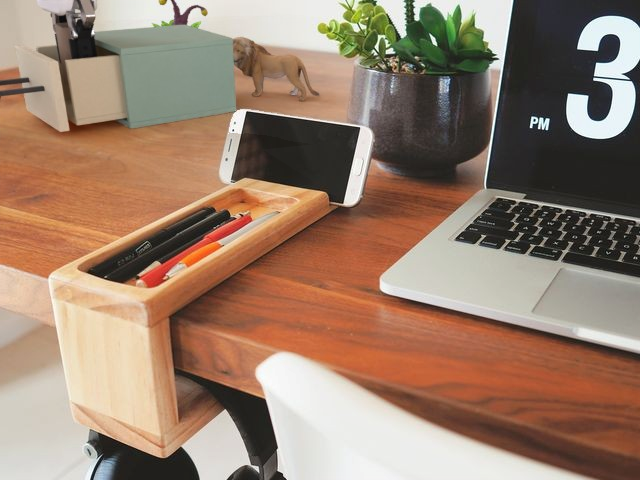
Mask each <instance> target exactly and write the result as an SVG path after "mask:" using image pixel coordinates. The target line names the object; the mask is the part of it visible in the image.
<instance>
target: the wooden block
mask: <svg viewBox="0 0 640 480" xmlns="http://www.w3.org/2000/svg"><path fill="white" fill-rule="evenodd" d="M76 22H77V21H76ZM76 22H75V25H76ZM55 30H56V33H55V34H56V36H57V42H58V47H59V53H60V59H61V65H62V71H63V76H64V81H65V83H66V84H67V85H68V86H69V82H68V76H67V69H66V63H65V60H71V59H72V57H71V51H70V45H69V39H72V38H71V34H70V30H69V26H68V22H66V23H57V24H55Z"/></svg>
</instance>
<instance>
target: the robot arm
mask: <svg viewBox="0 0 640 480" xmlns="http://www.w3.org/2000/svg"><path fill="white" fill-rule="evenodd" d="M35 1H36V4H37V6H38V7H39V8H40V9H42V10H44V11H46V12H48V13H50V15H49V16H50V18H51V21H52V30H53V31H54V38H55V43H56V44H55V45H57V51H58V56H59V62H60V63H61V59H60V53H59V47H58V42H57V36H56V30H55V24H57V23H66V22H68V26H69V30H70V34H71V38H72V39H69V45H70V51H71V57H72V59H81V58H91V57H97V52H96V45H95V39H94V38H95V33H94V32H95V30H94V29H95V28H94V26H95V20H96V18H97V17H96V10H97V9H98V0H35ZM76 10H78V11H80V12H76ZM75 22H76V25H75Z"/></svg>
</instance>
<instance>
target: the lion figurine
mask: <svg viewBox="0 0 640 480" xmlns="http://www.w3.org/2000/svg"><path fill="white" fill-rule="evenodd" d="M233 57H234V67H236V68H237V69H239V70H240V71H241V72H242V74H243V75H244V76H246V77H250V78H252V81H253V85H254V91H253V92H251V96H252V97H253V98H254V97H259V96H261V94H262V92H263V91H264V82H265V81H264V80H265V78H267V79H274V80H275V79H280V78H282V77H284V76H285V77H286V78H287V80H288V81H289V82H290V84H291V85H293V86H294V90H290V91H289V95H290V96H297V95H298V94H299V92H300V95H298V96H297V100H298V101H299V100H300V102H304V101H306V99H307V97H308V96H307V89H308V91H309V92H310V94H311V95H313V96H315V97H319V96H320V93H319V92H317V91H315V90H314V89H313V88H312V86H311V83H310V80H309V77H308V76H309V75H308V72H307V68H306V67H305V65H304V62H303V61H302V60H301V59H300V58H299V56H297V55H294V54H289V53H288V54H284V55H275V54H272V53H270V52H269V51H268V50H267V49H266V48H265V47H264V46H262V45H260V44H258V43H256V42H255V41H254V40H251V39H249V38H247V37H244V36H236V37H234V38H233ZM301 74H303V78H304V81H305V84H306V86H307V89H306V86H305V84H304V83H303V82H302V81H301V79H300V77H301Z"/></svg>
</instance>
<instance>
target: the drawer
mask: <svg viewBox="0 0 640 480" xmlns="http://www.w3.org/2000/svg"><path fill="white" fill-rule="evenodd" d="M14 51H15V55H16V60H17V66H18V71H19V77H16V78H8V79H0V86H9V85H18V84H19V85H20V84H21V86H22V87H20V88H19V87H18V88H10V89H3V90H0V99H1V98H2V97H7V96H14V95H15V96H16V95H23V98H24V103H25V107H26V110H27V111H28V112H29V113H31V114H32V115H34V116H35V117H37V118H38V119H39V120H41V121H43V122H44V123H46V124H47V125H49V126H50V127H52V128H53V129H55V130H56V131H58V132H60V133H65V132H69V131H70V125H69V124H70V123H69V122H71V123H73V124H74V125H76V126H82V125H83V126H84V125H90V124H96V123H97V124H98V123H103V122H109V121H110V122H111V121H116V119H123V118H127V111H126V103H125V96H124V88H123V80H122V72H121V64H120V56H119V54H118V53H115V52H113V51H110V50H108V49H105V48H102V47H100V46H97V45H96V52H97V57H91V58H81V59H71V60H65V63H66V69H67V76H68V82H69V86H68V85H67V84H66V83H65V81H64V76H63V71H62V65H61V63H60V62H59V56H58V51H57V45H56V44H49V45H38V46H35V49H32V48H30V47H28V46H26V45H23V44H22V45H14Z"/></svg>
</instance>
